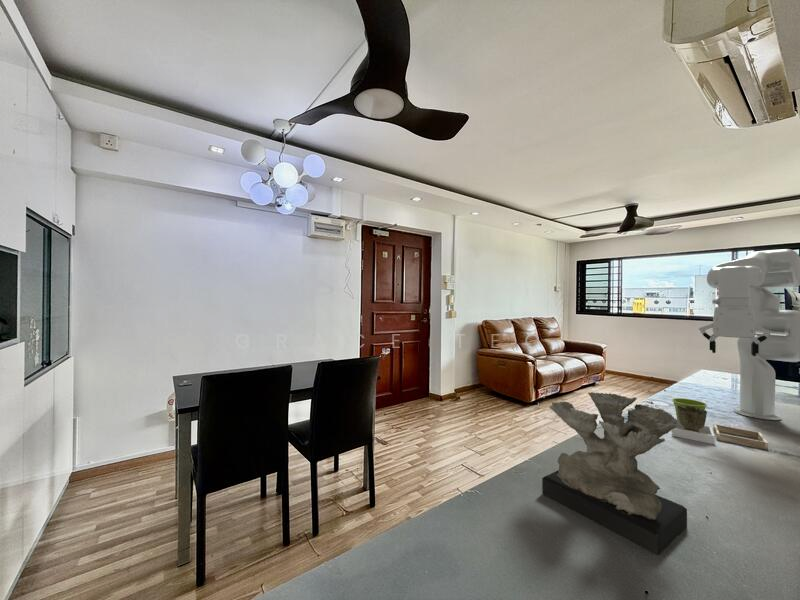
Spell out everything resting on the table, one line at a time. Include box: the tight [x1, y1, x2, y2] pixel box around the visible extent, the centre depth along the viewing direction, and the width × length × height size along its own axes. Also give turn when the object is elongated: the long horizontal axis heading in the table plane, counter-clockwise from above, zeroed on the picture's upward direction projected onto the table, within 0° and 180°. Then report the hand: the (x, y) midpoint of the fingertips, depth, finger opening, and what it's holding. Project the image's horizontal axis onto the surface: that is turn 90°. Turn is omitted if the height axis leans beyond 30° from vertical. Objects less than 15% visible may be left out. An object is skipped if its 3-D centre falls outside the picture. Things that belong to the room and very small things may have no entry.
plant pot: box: [671, 397, 708, 421], centre depth 118 cm, size 9×9×9 cm
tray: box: [671, 421, 716, 445], centre depth 110 cm, size 10×10×2 cm
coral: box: [541, 391, 688, 556], centre depth 72 cm, size 25×20×22 cm
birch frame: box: [712, 423, 769, 451], centre depth 108 cm, size 11×11×2 cm
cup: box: [677, 405, 708, 432], centre depth 111 cm, size 8×7×8 cm
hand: (733, 353), depth 115 cm, fingers open, 9 cm apart
